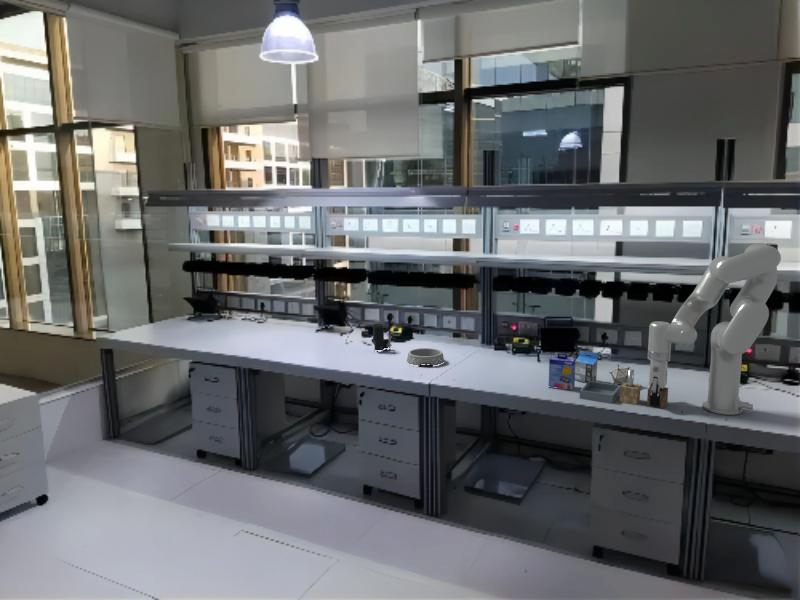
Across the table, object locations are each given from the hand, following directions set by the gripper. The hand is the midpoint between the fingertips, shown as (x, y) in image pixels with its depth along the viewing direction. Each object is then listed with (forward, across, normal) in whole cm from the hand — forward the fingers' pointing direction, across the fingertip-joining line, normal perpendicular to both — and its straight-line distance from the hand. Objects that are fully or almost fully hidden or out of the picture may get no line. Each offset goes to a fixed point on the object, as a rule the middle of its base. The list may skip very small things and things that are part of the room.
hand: (656, 402), depth 214 cm
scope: (+1, +17, +134) cm, 135 cm away
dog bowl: (+1, +9, +103) cm, 103 cm away
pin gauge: (+1, -1, +9) cm, 9 cm away
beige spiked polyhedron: (+1, +18, +16) cm, 24 cm away
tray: (+1, 0, +20) cm, 20 cm away
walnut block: (+1, 0, 0) cm, 1 cm away
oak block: (+1, -1, +9) cm, 9 cm away
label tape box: (+1, +16, +30) cm, 34 cm away
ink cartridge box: (+1, +3, +36) cm, 36 cm away
